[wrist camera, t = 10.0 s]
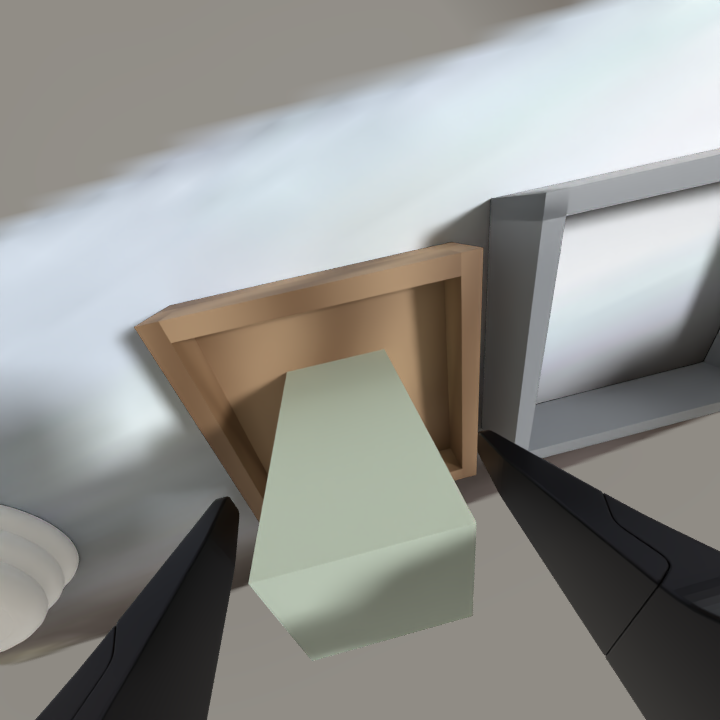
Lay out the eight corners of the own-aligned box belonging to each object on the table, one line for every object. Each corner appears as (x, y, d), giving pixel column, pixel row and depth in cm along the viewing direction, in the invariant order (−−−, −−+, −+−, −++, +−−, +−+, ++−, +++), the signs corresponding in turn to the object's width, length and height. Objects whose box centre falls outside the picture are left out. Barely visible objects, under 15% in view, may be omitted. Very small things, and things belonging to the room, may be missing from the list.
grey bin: (837, 122, 12) (991, 94, 9) (709, 369, 18) (779, 396, 15) (490, 198, 11) (546, 192, 8) (481, 427, 17) (511, 466, 14)
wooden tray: (451, 241, 12) (483, 247, 9) (455, 442, 17) (476, 474, 15) (169, 305, 11) (133, 327, 9) (270, 489, 17) (264, 530, 15)
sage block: (384, 348, 12) (476, 523, 5) (396, 423, 14) (472, 616, 7) (286, 372, 12) (247, 583, 5) (313, 443, 14) (312, 661, 7)
